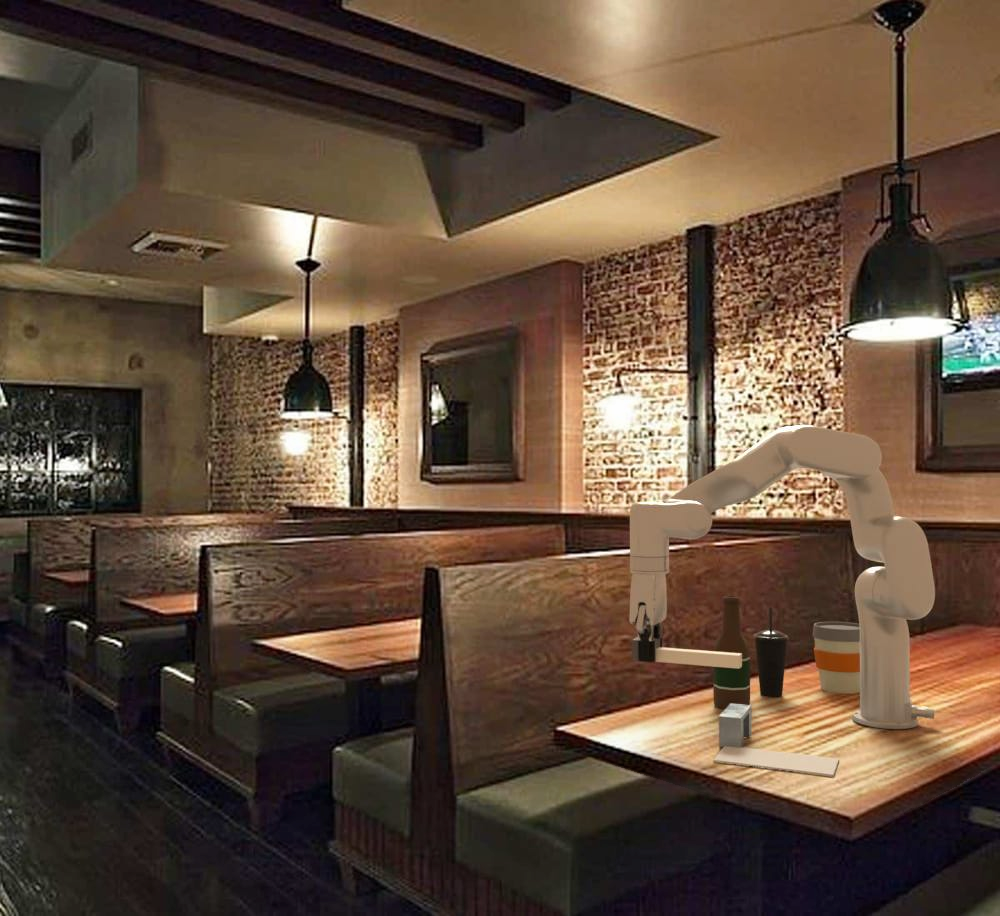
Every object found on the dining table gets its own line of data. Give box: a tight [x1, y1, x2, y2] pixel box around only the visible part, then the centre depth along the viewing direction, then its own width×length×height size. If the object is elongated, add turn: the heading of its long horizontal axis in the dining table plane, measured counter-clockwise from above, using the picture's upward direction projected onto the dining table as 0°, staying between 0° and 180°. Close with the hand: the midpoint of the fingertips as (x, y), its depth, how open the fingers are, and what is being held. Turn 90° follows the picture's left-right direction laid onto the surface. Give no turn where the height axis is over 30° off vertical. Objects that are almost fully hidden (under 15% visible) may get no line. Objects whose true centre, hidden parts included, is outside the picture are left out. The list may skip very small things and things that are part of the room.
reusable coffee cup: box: [812, 621, 860, 695], centre depth 226 cm, size 13×13×15 cm
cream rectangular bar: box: [631, 636, 742, 669], centre depth 184 cm, size 20×4×4 cm, turn 64°
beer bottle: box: [712, 595, 751, 710], centre depth 209 cm, size 8×8×24 cm
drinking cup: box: [753, 607, 789, 698], centre depth 220 cm, size 8×8×20 cm
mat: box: [712, 746, 840, 778], centre depth 169 cm, size 20×10×1 cm, turn 65°
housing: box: [718, 703, 753, 748], centre depth 182 cm, size 4×11×6 cm, turn 155°
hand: (650, 658), depth 187 cm, fingers closed on cream rectangular bar, 4 cm apart
